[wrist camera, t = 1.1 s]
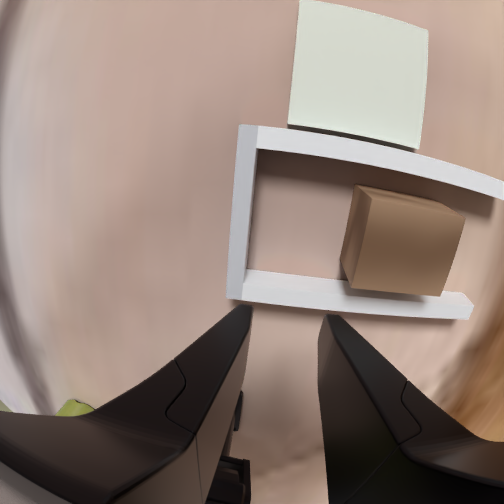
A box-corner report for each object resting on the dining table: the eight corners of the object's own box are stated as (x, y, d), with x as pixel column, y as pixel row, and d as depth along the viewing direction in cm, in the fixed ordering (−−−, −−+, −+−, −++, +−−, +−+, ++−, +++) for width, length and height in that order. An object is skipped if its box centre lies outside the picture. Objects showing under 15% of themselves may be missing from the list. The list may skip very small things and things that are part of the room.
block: (417, 268, 20) (440, 296, 16) (339, 257, 20) (351, 287, 16) (435, 200, 18) (465, 218, 14) (354, 183, 18) (372, 198, 14)
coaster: (413, 148, 16) (418, 149, 16) (287, 123, 17) (287, 123, 16) (423, 33, 13) (428, 30, 12) (299, 3, 13) (299, -2, 13)
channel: (457, 305, 20) (468, 319, 18) (230, 282, 21) (225, 298, 19) (496, 178, 16) (512, 184, 14) (243, 124, 17) (239, 124, 15)
